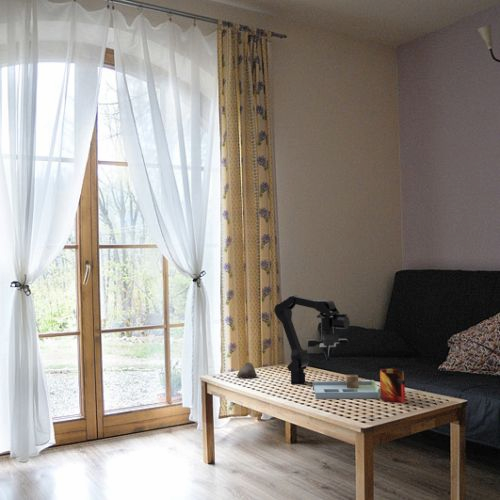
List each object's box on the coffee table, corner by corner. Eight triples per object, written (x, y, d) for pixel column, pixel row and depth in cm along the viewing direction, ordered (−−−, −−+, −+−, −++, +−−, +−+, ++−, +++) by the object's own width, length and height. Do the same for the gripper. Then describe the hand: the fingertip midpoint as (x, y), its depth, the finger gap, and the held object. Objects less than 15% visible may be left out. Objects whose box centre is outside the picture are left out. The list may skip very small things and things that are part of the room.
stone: (248, 386, 298) (261, 371, 300) (236, 375, 298) (249, 360, 300) (245, 385, 307) (258, 371, 310) (233, 374, 307) (246, 359, 309)
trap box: (315, 398, 255) (315, 389, 255) (312, 389, 273) (312, 380, 273) (380, 398, 253) (380, 388, 253) (373, 388, 272) (373, 379, 272)
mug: (404, 405, 241) (403, 375, 241) (375, 399, 251) (375, 371, 251) (417, 401, 247) (416, 372, 247) (389, 395, 258) (388, 368, 258)
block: (347, 388, 264) (346, 376, 264) (346, 385, 269) (346, 374, 269) (358, 388, 264) (358, 377, 264) (357, 385, 269) (357, 374, 269)
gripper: (308, 330, 269) (308, 364, 269) (349, 329, 268) (350, 364, 268) (306, 327, 280) (307, 360, 280) (346, 326, 279) (347, 359, 279)
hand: (328, 361), depth 276 cm, fingers closed
